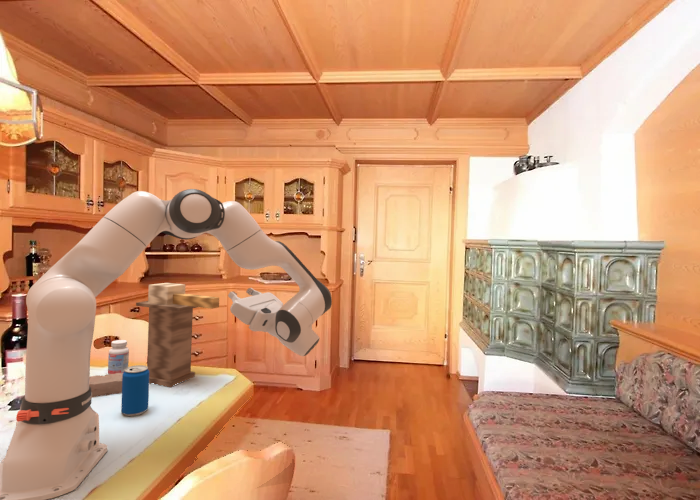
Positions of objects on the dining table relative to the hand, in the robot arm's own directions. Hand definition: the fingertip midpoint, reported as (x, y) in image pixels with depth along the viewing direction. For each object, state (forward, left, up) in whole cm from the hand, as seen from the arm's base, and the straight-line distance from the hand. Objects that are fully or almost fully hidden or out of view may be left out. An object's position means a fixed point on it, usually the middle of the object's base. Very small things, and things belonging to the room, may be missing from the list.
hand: (239, 291), depth 122 cm
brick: (+11, +39, -33) cm, 52 cm away
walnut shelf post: (+17, +20, -32) cm, 42 cm away
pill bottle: (+27, +37, -32) cm, 56 cm away
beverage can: (-7, +27, -32) cm, 43 cm away
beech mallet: (+13, +16, -6) cm, 22 cm away
